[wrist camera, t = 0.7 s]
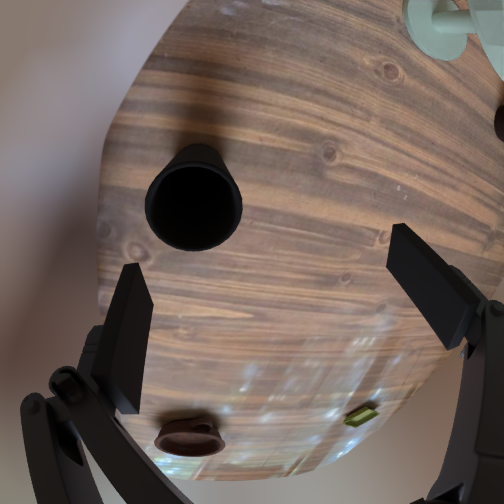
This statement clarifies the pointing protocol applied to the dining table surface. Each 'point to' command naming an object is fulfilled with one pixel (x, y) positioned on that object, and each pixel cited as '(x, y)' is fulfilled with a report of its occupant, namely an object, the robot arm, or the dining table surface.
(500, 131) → the coffee mug
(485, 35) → the bowl
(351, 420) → the green square tray
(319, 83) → the dining table surface
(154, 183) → the cup
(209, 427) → the dish
